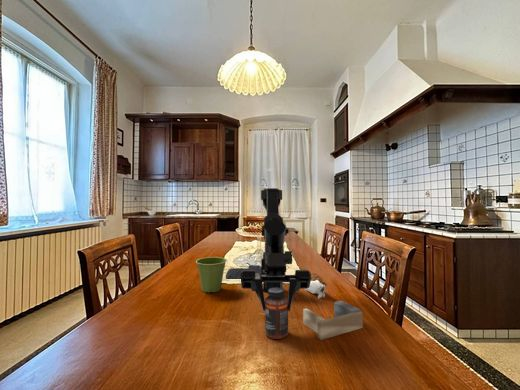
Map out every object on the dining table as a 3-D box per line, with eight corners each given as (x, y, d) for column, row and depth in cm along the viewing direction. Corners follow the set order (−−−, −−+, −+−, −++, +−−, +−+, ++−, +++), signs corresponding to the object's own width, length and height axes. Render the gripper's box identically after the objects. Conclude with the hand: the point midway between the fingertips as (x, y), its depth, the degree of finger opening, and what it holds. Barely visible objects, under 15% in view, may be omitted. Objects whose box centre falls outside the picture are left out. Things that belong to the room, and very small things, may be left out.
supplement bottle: (291, 331, 70) (291, 287, 71) (283, 342, 65) (283, 295, 65) (270, 326, 73) (270, 284, 73) (261, 337, 68) (260, 291, 68)
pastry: (327, 284, 110) (327, 274, 110) (315, 287, 106) (315, 277, 106) (310, 278, 118) (310, 269, 118) (299, 281, 114) (299, 272, 114)
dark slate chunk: (228, 272, 130) (228, 262, 130) (274, 272, 129) (274, 262, 129) (223, 282, 115) (223, 270, 115) (275, 282, 114) (275, 271, 114)
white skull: (330, 300, 96) (313, 285, 105) (330, 283, 94) (312, 270, 103) (318, 304, 94) (302, 289, 103) (318, 288, 92) (301, 273, 101)
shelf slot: (299, 324, 74) (299, 308, 74) (339, 314, 81) (339, 299, 81) (320, 340, 66) (320, 321, 66) (363, 327, 72) (363, 310, 72)
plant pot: (189, 293, 99) (189, 263, 99) (204, 284, 111) (204, 256, 111) (220, 296, 96) (220, 264, 96) (231, 286, 108) (231, 257, 108)
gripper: (240, 240, 73) (237, 295, 62) (309, 240, 73) (318, 295, 62) (243, 262, 81) (240, 315, 70) (305, 262, 81) (312, 315, 70)
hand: (276, 310), depth 68 cm, fingers closed on supplement bottle, 6 cm apart
